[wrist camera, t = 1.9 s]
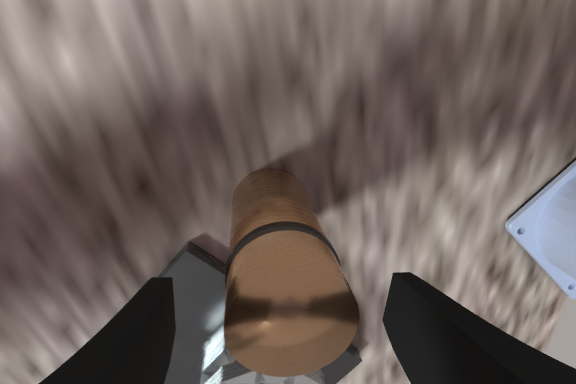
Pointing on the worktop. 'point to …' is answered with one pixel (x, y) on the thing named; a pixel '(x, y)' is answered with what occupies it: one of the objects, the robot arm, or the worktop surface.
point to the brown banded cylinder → (283, 282)
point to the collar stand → (220, 330)
